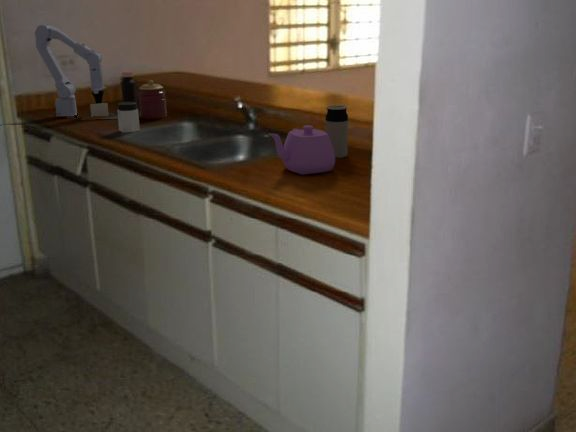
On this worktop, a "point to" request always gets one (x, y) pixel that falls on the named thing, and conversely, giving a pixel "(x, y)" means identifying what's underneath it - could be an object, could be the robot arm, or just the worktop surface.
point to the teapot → (306, 151)
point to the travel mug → (337, 129)
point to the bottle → (128, 88)
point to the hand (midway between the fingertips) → (99, 106)
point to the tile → (99, 109)
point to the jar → (128, 117)
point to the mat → (111, 116)
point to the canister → (152, 101)
